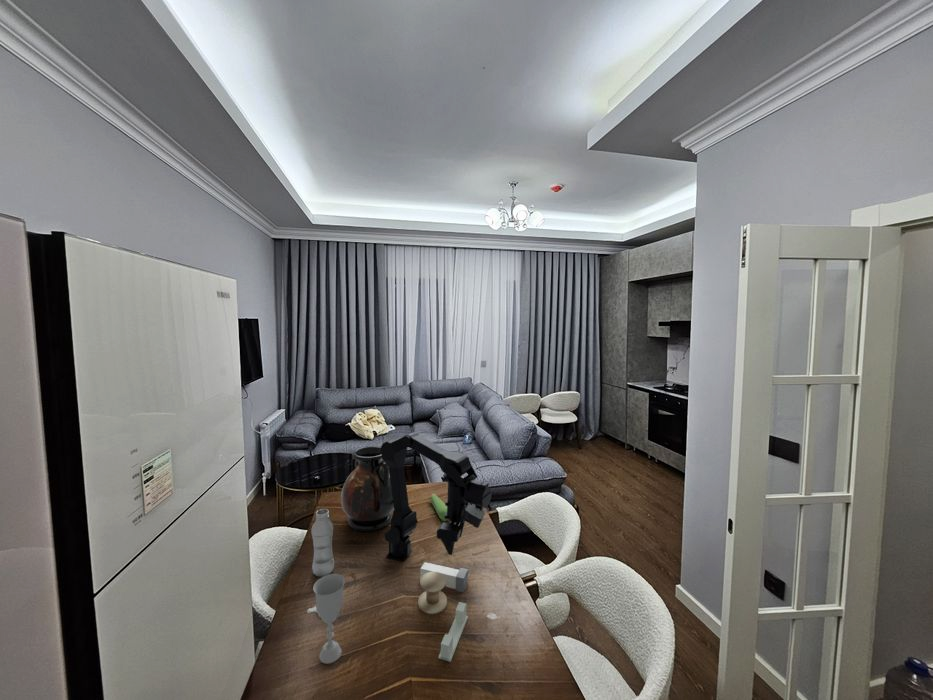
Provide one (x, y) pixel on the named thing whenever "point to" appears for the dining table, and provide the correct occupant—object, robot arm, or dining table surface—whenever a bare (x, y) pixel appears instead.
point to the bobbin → (432, 593)
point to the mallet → (448, 575)
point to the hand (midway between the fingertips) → (454, 545)
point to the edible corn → (439, 507)
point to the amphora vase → (368, 491)
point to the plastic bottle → (322, 544)
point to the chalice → (329, 611)
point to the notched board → (453, 634)
